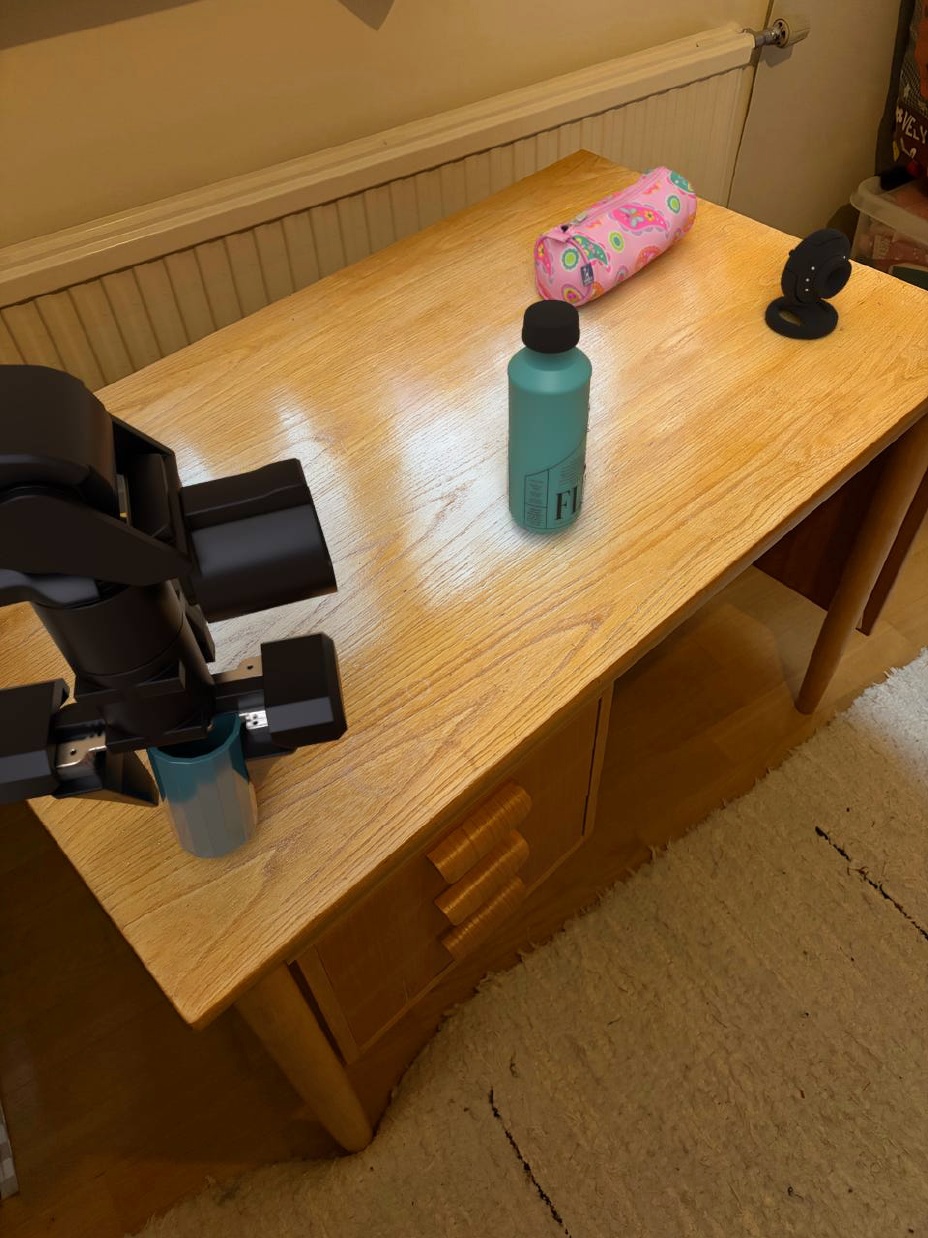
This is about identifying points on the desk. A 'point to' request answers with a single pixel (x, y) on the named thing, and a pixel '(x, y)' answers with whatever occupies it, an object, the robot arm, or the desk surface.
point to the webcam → (812, 285)
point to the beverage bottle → (548, 419)
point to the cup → (207, 790)
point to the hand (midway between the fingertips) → (208, 790)
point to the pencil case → (614, 237)
